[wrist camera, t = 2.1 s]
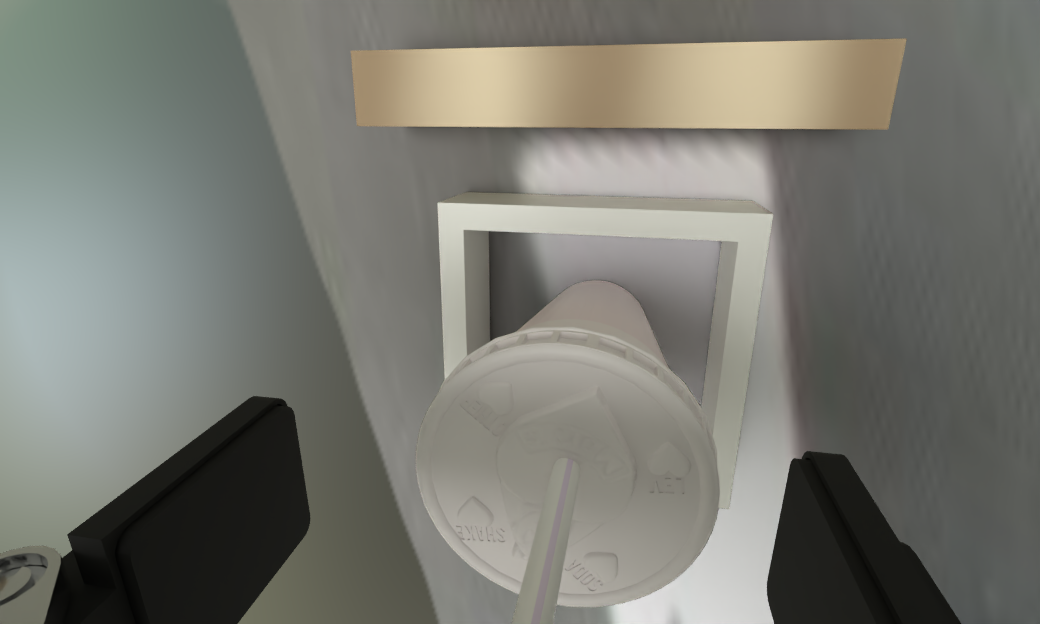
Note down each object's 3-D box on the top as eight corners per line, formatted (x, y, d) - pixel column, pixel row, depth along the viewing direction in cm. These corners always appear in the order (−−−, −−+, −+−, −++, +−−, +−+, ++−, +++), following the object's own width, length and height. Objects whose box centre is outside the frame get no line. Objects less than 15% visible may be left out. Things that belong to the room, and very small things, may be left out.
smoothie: (716, 278, 19) (881, 612, 6) (647, 431, 21) (655, 916, 8) (539, 217, 19) (331, 398, 6) (490, 372, 22) (265, 736, 9)
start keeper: (752, 200, 18) (773, 214, 15) (717, 458, 21) (728, 509, 18) (466, 192, 20) (437, 202, 17) (472, 429, 23) (448, 471, 20)
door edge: (853, 56, 16) (906, 38, 13) (840, 129, 17) (887, 129, 13) (401, 64, 19) (350, 50, 16) (405, 126, 19) (356, 125, 16)
